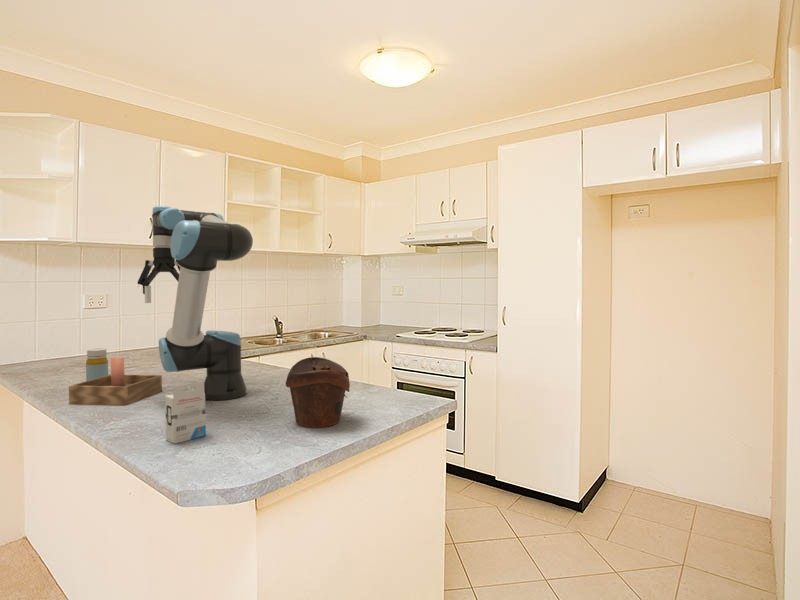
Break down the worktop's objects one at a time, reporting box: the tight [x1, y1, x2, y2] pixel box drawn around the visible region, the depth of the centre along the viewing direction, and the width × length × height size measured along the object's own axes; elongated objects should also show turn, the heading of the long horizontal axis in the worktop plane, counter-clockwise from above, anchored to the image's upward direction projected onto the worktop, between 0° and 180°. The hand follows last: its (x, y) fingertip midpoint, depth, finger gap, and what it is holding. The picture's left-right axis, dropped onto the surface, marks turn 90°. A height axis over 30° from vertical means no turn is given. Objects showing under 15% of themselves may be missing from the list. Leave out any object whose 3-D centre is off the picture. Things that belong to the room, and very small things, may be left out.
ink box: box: [164, 380, 207, 444], centre depth 120 cm, size 8×5×15 cm, turn 140°
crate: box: [68, 373, 163, 406], centre depth 162 cm, size 20×20×6 cm
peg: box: [110, 356, 125, 387], centre depth 162 cm, size 4×4×14 cm
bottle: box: [85, 347, 109, 381], centre depth 175 cm, size 7×7×15 cm
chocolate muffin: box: [285, 356, 351, 429], centre depth 134 cm, size 18×20×18 cm
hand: (164, 303), depth 176 cm, fingers open, 13 cm apart
